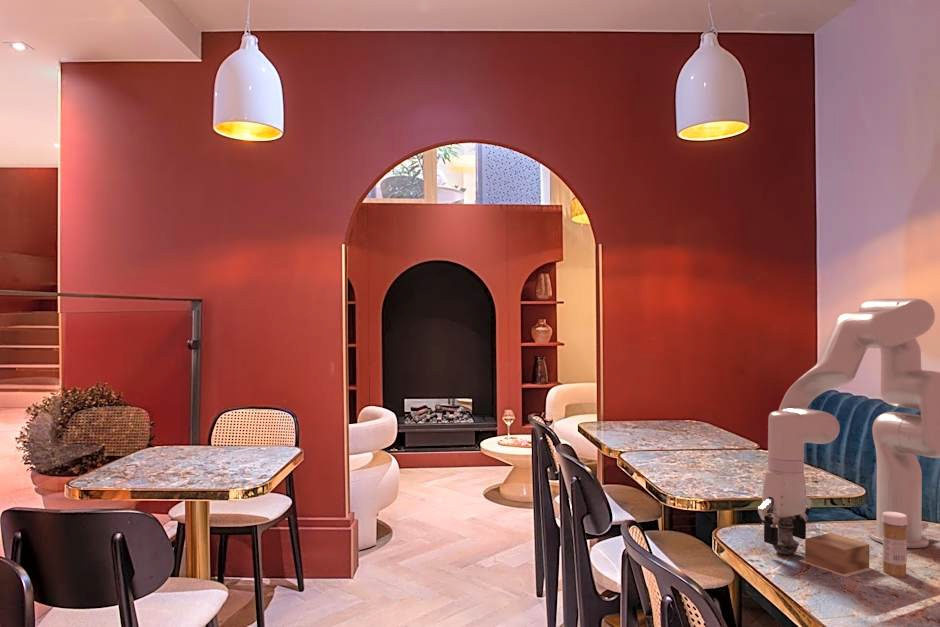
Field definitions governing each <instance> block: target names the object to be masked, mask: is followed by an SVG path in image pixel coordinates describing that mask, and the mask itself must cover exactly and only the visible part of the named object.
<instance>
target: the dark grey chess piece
mask: <svg viewBox="0 0 940 627" xmlns="http://www.w3.org/2000/svg"><path fill="white" fill-rule="evenodd" d="M792 519H793V516H791V517H786V518H780V519H779V521H778V523H777V525H776V526H777V528H778V544H777V545H772V547H773V549H774V550H775V551H776V552H777V553H779V554H780V555H782V556H790V555H793V554H795V553H796V552H797V550H798V547H799V546H800V542H799V541H797V540H796V539H794V536H793V535H792V528H793V527H794V526H793V525H792Z"/></svg>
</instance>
